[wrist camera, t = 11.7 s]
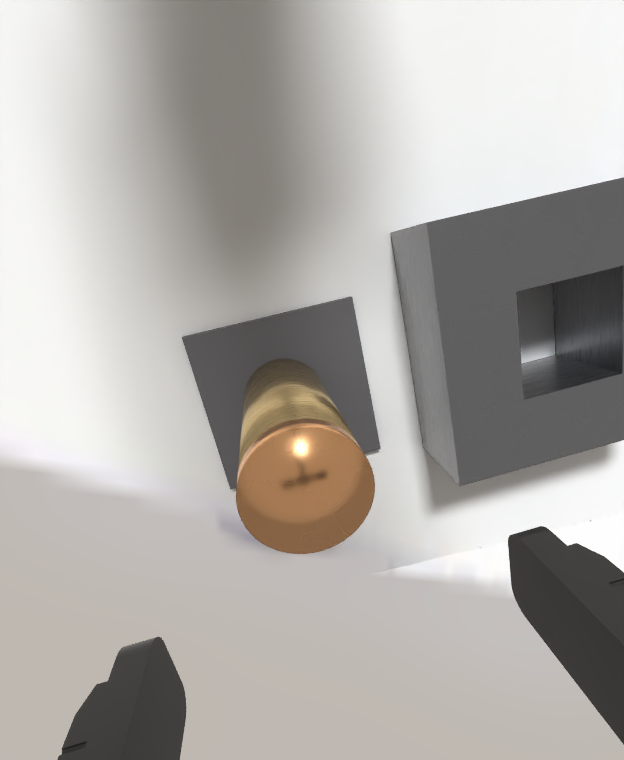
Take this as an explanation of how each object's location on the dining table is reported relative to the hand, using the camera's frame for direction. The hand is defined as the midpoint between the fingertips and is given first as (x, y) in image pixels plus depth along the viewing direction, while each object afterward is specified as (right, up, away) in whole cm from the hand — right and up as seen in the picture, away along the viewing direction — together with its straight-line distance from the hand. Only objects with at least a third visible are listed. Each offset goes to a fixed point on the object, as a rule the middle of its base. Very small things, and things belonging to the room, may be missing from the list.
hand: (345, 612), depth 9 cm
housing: (+12, +9, +16) cm, 22 cm away
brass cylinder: (-2, +4, +15) cm, 16 cm away
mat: (-2, +4, +16) cm, 16 cm away
